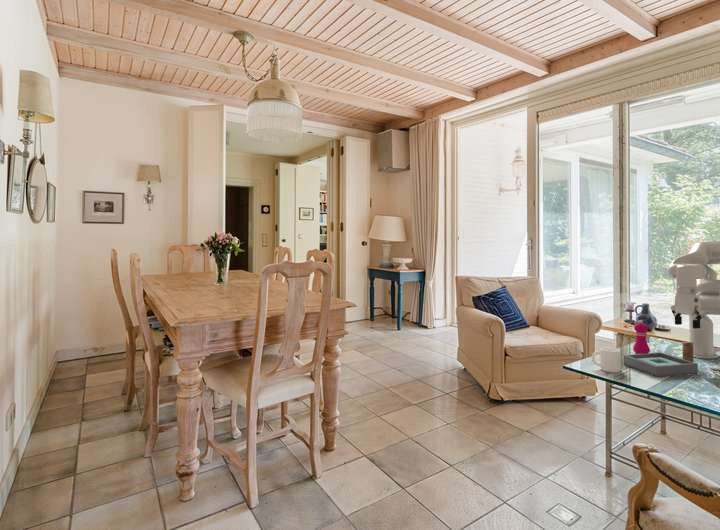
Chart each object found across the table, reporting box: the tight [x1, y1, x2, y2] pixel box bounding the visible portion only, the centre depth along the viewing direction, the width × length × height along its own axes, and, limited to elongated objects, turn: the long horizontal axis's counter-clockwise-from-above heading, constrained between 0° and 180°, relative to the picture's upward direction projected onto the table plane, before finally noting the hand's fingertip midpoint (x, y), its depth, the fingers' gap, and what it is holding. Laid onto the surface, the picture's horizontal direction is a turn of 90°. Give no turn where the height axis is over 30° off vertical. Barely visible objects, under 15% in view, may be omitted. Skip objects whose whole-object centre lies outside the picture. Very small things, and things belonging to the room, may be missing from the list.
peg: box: [681, 341, 694, 362], centre depth 191 cm, size 4×4×12 cm
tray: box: [623, 351, 699, 378], centre depth 190 cm, size 20×20×5 cm
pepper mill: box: [632, 319, 651, 354], centre depth 209 cm, size 7×7×20 cm
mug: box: [591, 346, 622, 374], centre depth 193 cm, size 12×8×10 cm
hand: (687, 326), depth 191 cm, fingers open, 9 cm apart
